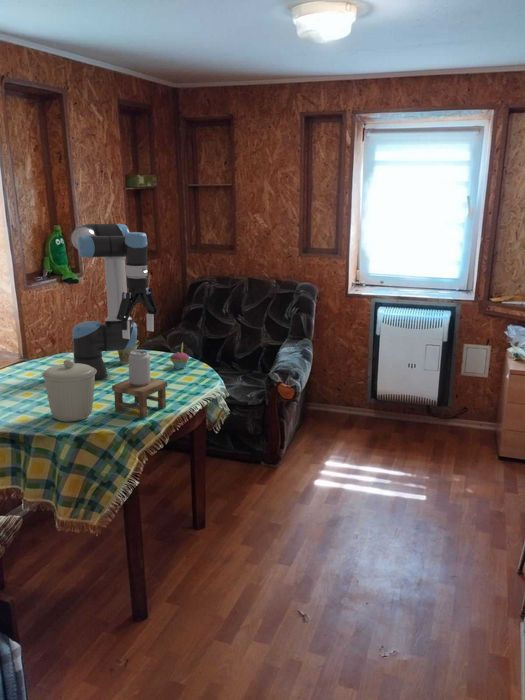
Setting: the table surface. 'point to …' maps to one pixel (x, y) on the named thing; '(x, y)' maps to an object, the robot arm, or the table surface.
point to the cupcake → (179, 359)
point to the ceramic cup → (126, 354)
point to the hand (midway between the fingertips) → (138, 334)
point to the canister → (70, 390)
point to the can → (139, 368)
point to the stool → (140, 395)
